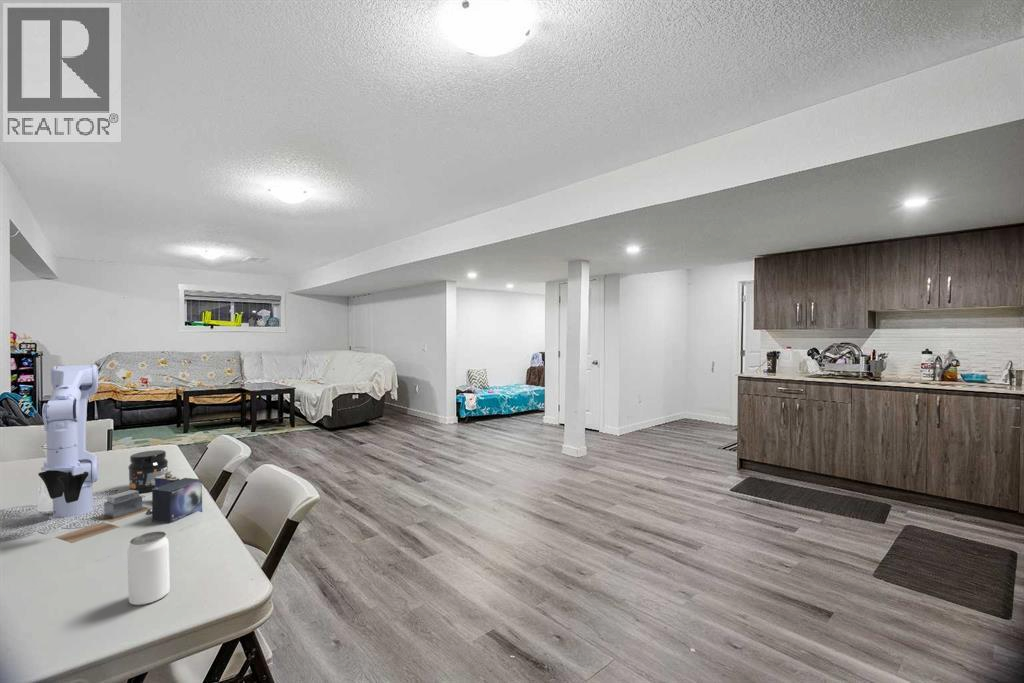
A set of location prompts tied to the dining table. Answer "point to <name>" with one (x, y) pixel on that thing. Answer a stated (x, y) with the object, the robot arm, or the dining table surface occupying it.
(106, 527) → the stand
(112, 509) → the block
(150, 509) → the loose bolt
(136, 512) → the stand
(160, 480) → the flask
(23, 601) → the dining table surface
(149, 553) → the can
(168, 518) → the small box
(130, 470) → the supplement container
